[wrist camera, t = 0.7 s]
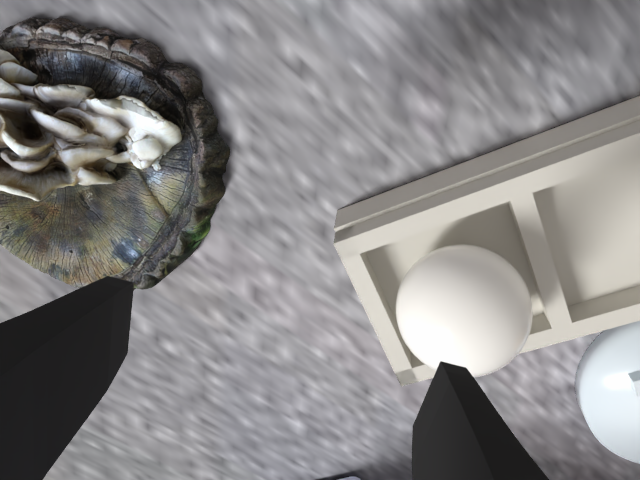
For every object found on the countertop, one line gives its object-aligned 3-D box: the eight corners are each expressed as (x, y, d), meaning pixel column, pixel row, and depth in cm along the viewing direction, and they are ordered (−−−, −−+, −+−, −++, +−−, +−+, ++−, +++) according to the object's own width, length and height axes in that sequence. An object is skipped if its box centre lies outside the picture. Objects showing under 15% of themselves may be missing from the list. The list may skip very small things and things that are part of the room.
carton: (901, 197, 18) (985, 229, 16) (399, 346, 23) (402, 389, 21) (897, -2, 16) (994, -2, 14) (337, 210, 21) (331, 240, 18)
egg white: (528, 307, 20) (566, 385, 16) (417, 340, 21) (426, 421, 17) (494, 206, 18) (527, 265, 14) (376, 247, 19) (376, 313, 15)
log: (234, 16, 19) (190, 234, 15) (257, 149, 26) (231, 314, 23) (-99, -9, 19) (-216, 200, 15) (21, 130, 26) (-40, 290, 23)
